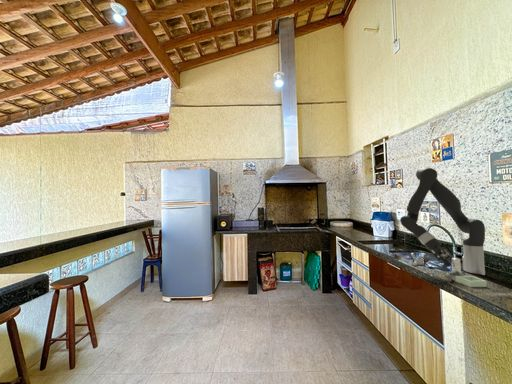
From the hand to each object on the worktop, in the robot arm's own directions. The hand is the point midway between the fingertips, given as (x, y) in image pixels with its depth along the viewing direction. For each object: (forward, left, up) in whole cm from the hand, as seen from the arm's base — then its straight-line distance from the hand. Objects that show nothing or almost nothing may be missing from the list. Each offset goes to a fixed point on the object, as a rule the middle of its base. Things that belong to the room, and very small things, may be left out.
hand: (453, 264), depth 132 cm
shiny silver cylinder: (+1, +1, -8) cm, 8 cm away
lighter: (-33, +2, -9) cm, 34 cm away
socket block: (+1, +1, -9) cm, 9 cm away
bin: (+10, +1, -9) cm, 13 cm away
